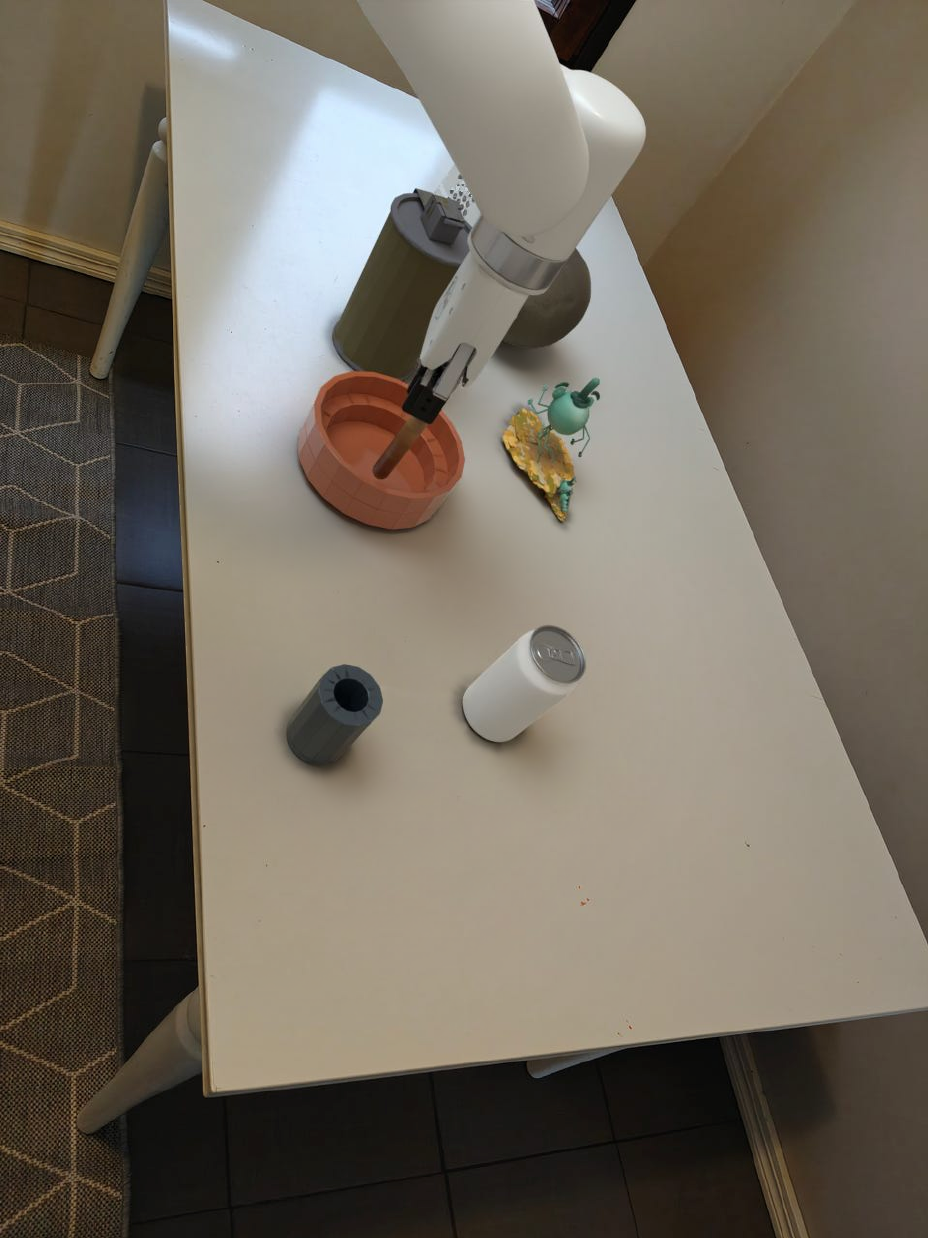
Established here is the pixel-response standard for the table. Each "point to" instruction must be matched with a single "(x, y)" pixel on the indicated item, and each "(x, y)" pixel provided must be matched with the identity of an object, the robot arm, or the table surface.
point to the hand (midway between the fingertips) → (419, 406)
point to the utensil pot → (334, 714)
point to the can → (524, 683)
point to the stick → (399, 446)
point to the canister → (402, 284)
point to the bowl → (376, 452)
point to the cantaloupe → (553, 308)
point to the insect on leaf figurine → (551, 441)
